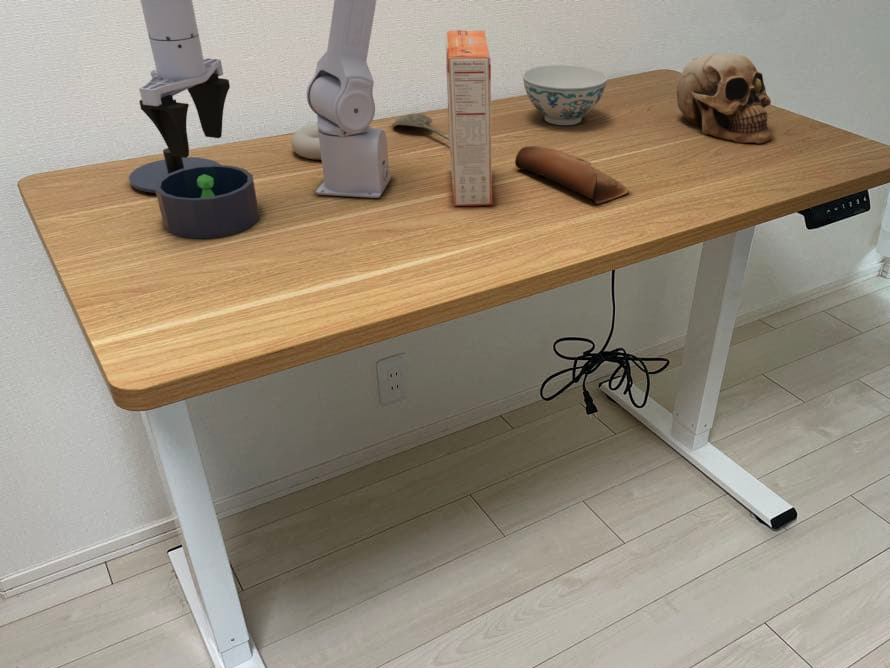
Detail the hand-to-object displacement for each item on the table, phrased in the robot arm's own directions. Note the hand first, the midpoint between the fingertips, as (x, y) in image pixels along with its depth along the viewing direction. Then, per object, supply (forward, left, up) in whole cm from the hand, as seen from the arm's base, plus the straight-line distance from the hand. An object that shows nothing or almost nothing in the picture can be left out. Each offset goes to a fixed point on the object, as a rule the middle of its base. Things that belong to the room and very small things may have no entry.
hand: (197, 146), depth 110 cm
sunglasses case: (-48, -21, -10) cm, 54 cm away
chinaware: (-45, -51, -10) cm, 69 cm away
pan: (0, 0, -10) cm, 10 cm away
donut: (-7, -28, -10) cm, 31 cm away
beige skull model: (-74, -51, -10) cm, 91 cm away
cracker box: (-33, -16, -10) cm, 39 cm away
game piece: (0, 0, -10) cm, 10 cm away
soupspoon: (-24, -36, -10) cm, 45 cm away
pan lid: (+11, -13, -10) cm, 19 cm away
